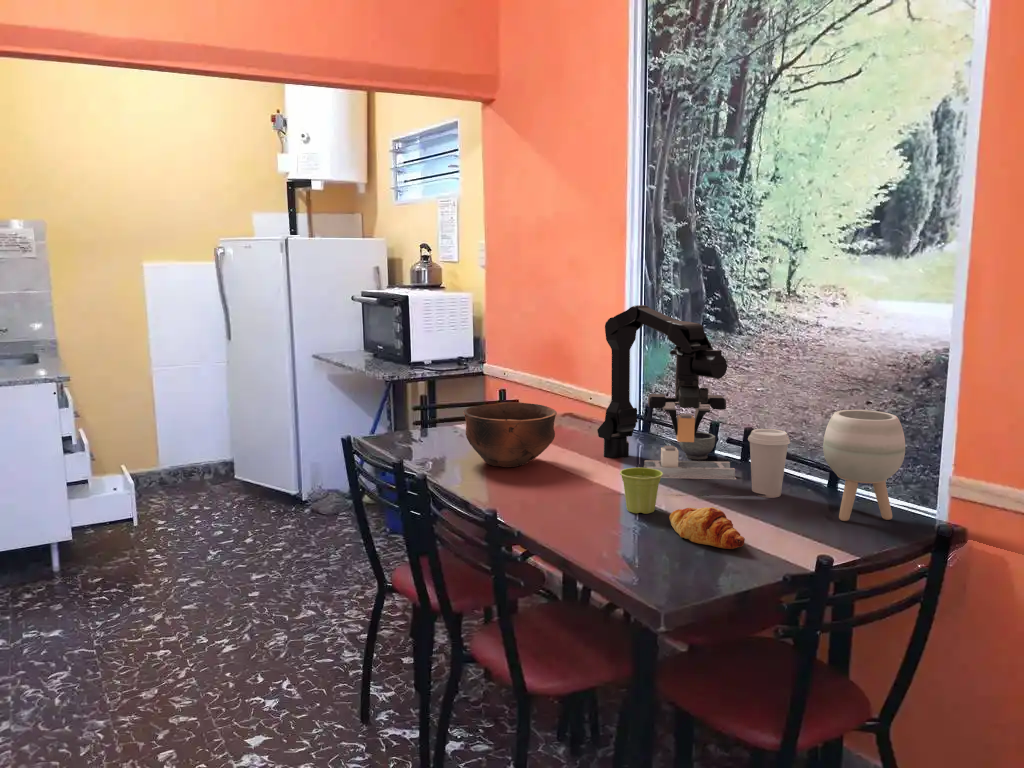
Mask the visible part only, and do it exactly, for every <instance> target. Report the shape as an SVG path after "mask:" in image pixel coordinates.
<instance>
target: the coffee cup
mask: <svg viewBox="0 0 1024 768" xmlns="http://www.w3.org/2000/svg"><path fill="white" fill-rule="evenodd" d="M747 437H748V438H747V440H748V442H749V452H750V456H749V457H750V474H751V475H750V476H751V491H752V492H754V493H756V495H755V496H756V497H760V498H766V499H767V498H770V499H771V498H772V499H773V498H775V499H776V498H778V497H779V498H780V497H781V495H782V488H783V481H784V473H785V466H786V460H787V452H788V446H789V444H790V443H791V441H790V440H791V439H790V437H789V436H788V433H787V432H786V431H784V430H781V429H774V428H755V429H752V430H751V432H750V433H749V435H748V436H747ZM757 494H758V495H757ZM759 494H760V495H759Z"/></svg>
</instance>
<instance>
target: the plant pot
mask: <svg viewBox="0 0 1024 768" xmlns="http://www.w3.org/2000/svg"><path fill="white" fill-rule="evenodd" d="M619 475H620V476H621V480H622V481H623V489H624V497H625V506H626V510H627V511H628V512H629V513H633V514H639V513H642V514H647V515H648V514H651V513H654V512H655V509H656V503H657V498H658V497H657V496H658V490H659V485H660V482H661V479H662V478H661V477H662V475H663V473H662V472H661V471H659V470H656V469H651V468H644V467H629V468H623V469H621V470H620V471H619Z"/></svg>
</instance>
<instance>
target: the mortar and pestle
mask: <svg viewBox="0 0 1024 768" xmlns="http://www.w3.org/2000/svg"><path fill="white" fill-rule="evenodd" d="M678 443H679V446H680V448H681V450H682V452H684V453H685V456H684V457H685V458H687V459H691V460H706V459H708V455H709V454H710V453H711V452H712V451H713V449H714V447H715V444H716V435H714V434H712V433H708V432H703V431H700V432H699V431H697V432H696V435H695V436H694V442H678Z"/></svg>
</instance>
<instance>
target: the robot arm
mask: <svg viewBox="0 0 1024 768" xmlns="http://www.w3.org/2000/svg"><path fill="white" fill-rule="evenodd" d="M643 326H646V327H649V328H651V329H653V330H654V331H655V330H656V331H657V332H660V333H661V334H664V335H665V336H666V337H667V339H668V341H669V342H671V343H672V344H673V345H674V346H675V347H674V348H673V349H672V350H670V351H669V354H670V355H672V356H673V355H675V356H676V358H675V359H676V360H675V381H674V382H675V383H674V385H675V386H674V387H675V388H674V389H675V390H674V397H666V396H665V394H664V393H650V394H649V395H648V396H647V398H648V399H647V406H648V408H649V409H662V410H663V411H664V412H668V415H669V417H670V420H671V424H672V427H673V431H674V433H675V436H676V435H677V432H678V427H677V409H676V406H679V408H681V409H686V408H691V409H692V408H693V409H695V410H694V411H695V412H694V418H695V430H694V436H695V435H696V432H698V429H699V427H700V424H701V422H702V420H703V418H704V416H705V415H706V414H707V413H711V409H712V410H722V411H723V410H724V411H725V410H727V400H726V399H725V397H723V395H722V394H709V389H708V387H700V385H699V384H700V377H703V378H711V379H715V380H716V379H718V380H720V379H722V378H723V377H724V376H725V375H726V373H727V370H728V363H727V360H726V358H725V357H724V356H723V355H722V354H723V353H722V350H719V349H716V350H715V349H714V348H713V346H712V344H711V342H710V340H709V338H708V337H707V334H706V333H705V330H704V329H705V328H704V326H703V325H702V324H701V323H699V322H693V321H685V320H677V319H675V318H673V317H671V316H670V315H669V316H668V315H666V314H664V313H662V312H660V311H657V310H654V309H653V308H651V307H649V305H644V304H641V305H640V304H639V305H632V306H630V307H629V308H628V309H626V310H625V311H623V312H621V313H618V314H616V315H615V316H613V317H610V318H608V319H607V321H606V322H605V325H604V333H605V340H606V342H607V344H608V345H609V347H610V349H611V396H610V397H611V400H610V402H609V404H608V407H607V408H606V410H605V416H604V421H603V422H602V423H601V425H600V426H599V427H598V429H597V430H596V431H597V437H599V438H601V439H603V457H604V458H610V459H622V458H623V459H624V458H629V455H630V454H629V451H630V442H629V441H628V437H632V436H633V434H634V431H635V428H636V426H637V423H638V422H639V421H638V409H637V407H633V405H632V403H631V401H630V396H631V395H630V392H631V391H630V390H631V389H630V387H631V386H630V385H631V384H630V383H631V382H630V381H631V380H630V379H631V376H630V375H631V368H630V367H631V365H630V363H631V355H630V354H631V349H632V347H633V345H634V343H635V342H636V338H637V331H638V330H640V329H641V328H642V327H643ZM710 407H711V409H710Z"/></svg>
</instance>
